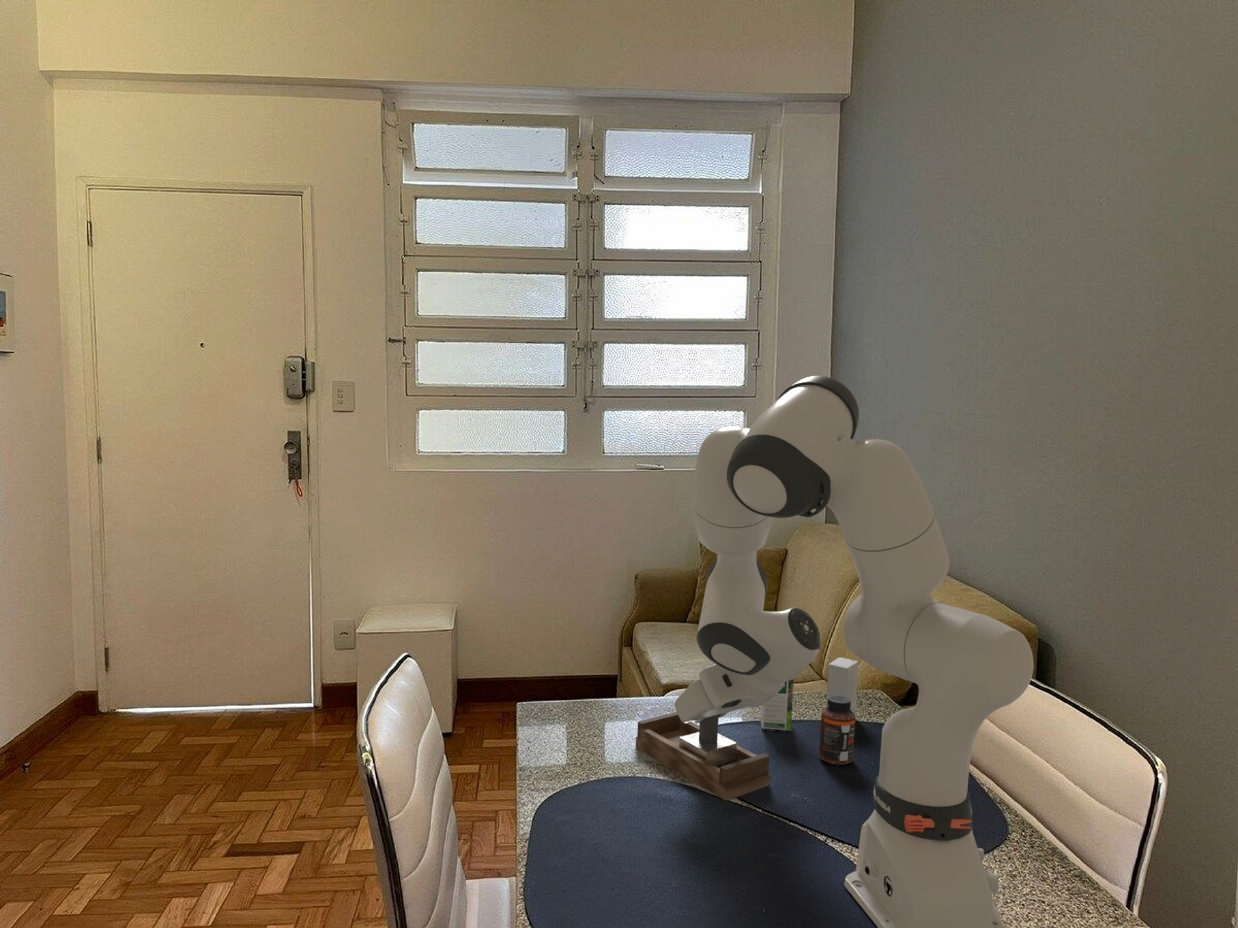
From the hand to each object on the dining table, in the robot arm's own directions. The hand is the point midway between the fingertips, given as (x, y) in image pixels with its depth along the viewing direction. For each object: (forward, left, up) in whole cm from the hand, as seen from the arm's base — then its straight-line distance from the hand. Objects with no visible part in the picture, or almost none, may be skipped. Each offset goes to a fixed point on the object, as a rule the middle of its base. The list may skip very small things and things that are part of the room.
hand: (707, 716), depth 148 cm
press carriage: (0, 0, -7) cm, 7 cm away
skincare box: (+24, -30, -10) cm, 40 cm away
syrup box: (+20, -16, -10) cm, 28 cm away
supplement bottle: (+5, -24, -10) cm, 27 cm away
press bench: (+1, +1, -9) cm, 10 cm away
